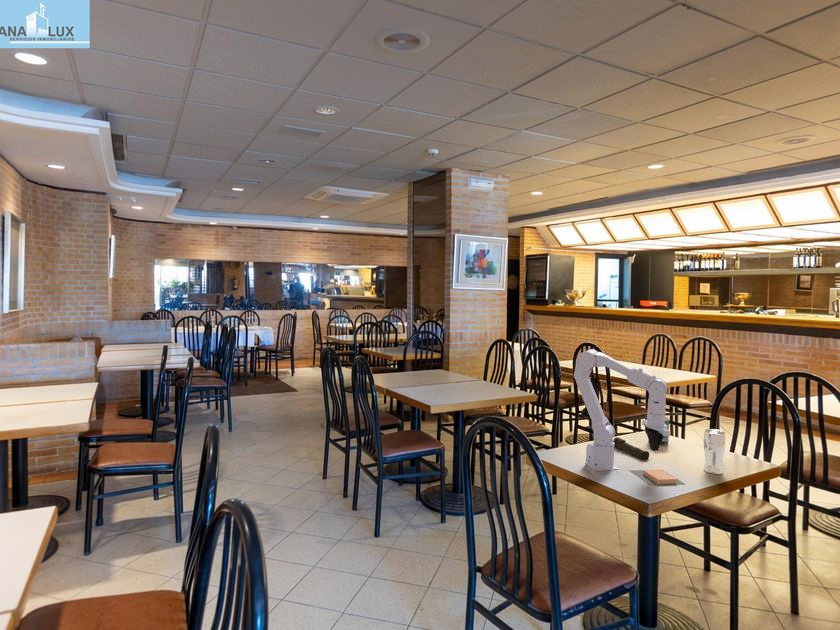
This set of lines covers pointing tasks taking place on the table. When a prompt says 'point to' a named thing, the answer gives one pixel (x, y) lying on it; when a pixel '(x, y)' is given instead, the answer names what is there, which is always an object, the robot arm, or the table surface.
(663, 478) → the tile
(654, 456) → the table surface
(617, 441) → the hand tool
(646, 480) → the mat
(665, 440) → the canned tomato
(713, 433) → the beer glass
